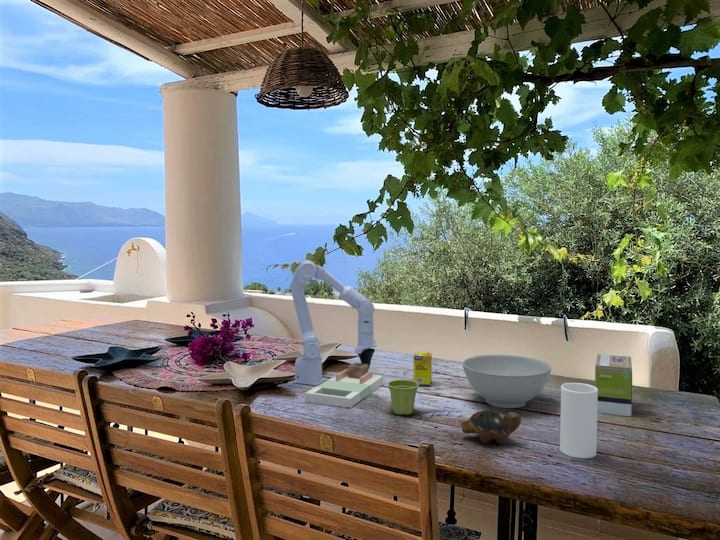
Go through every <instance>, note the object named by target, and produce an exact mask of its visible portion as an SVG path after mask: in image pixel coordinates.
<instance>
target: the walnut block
mask: <svg viewBox="0 0 720 540" xmlns="http://www.w3.org/2000/svg"><path fill="white" fill-rule="evenodd" d="M347 369H348V378H356V379H360V377H362V376H363V375H365V374H366V373H368V372H369V369H368V364H361V362H360V363H359V362H353V363H351V364H349V365H348V366H347Z"/></svg>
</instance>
